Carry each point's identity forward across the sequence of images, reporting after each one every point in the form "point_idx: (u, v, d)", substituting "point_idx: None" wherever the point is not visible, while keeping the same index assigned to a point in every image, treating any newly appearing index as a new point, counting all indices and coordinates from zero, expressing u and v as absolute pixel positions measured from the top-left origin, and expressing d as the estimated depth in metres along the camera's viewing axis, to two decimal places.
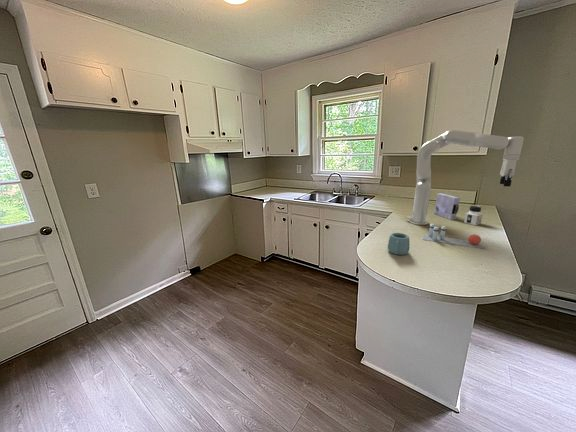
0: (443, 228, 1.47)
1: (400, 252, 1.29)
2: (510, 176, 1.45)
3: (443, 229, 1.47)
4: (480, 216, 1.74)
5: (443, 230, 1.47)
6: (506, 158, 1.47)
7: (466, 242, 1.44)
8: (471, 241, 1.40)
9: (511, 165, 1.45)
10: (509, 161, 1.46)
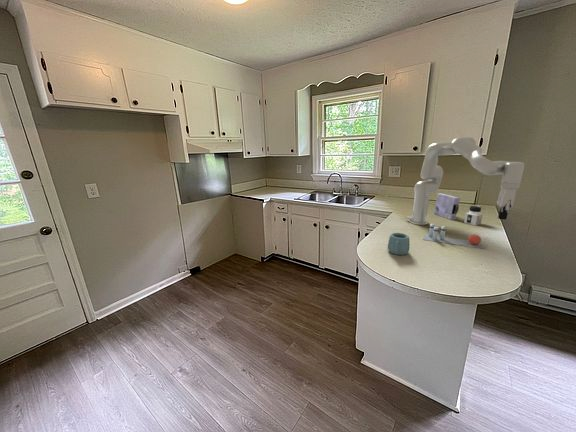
0: (443, 228, 1.47)
1: (400, 252, 1.29)
2: (505, 210, 1.28)
3: (443, 229, 1.47)
4: (480, 216, 1.74)
5: (443, 230, 1.47)
6: (504, 187, 1.27)
7: (466, 242, 1.44)
8: (471, 241, 1.40)
9: (510, 195, 1.25)
10: (507, 190, 1.25)
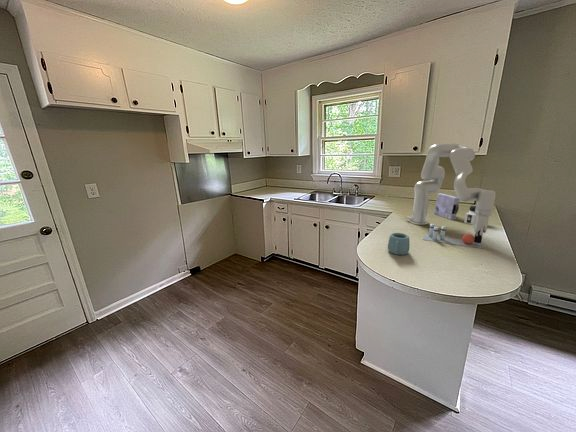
0: (443, 228, 1.47)
1: (400, 252, 1.29)
2: (480, 235, 1.36)
3: (443, 229, 1.47)
4: None
5: (443, 230, 1.47)
6: (478, 213, 1.35)
7: None
8: (467, 243, 1.42)
9: (483, 221, 1.33)
10: (480, 217, 1.33)
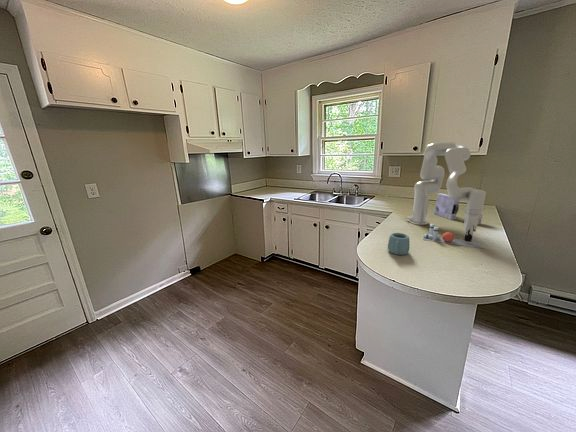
0: (425, 237, 1.52)
1: (400, 252, 1.29)
2: (470, 234, 1.39)
3: (426, 237, 1.52)
4: (480, 216, 1.74)
5: (427, 237, 1.52)
6: (468, 212, 1.37)
7: (466, 242, 1.44)
8: (449, 237, 1.43)
9: (473, 220, 1.35)
10: (470, 216, 1.36)
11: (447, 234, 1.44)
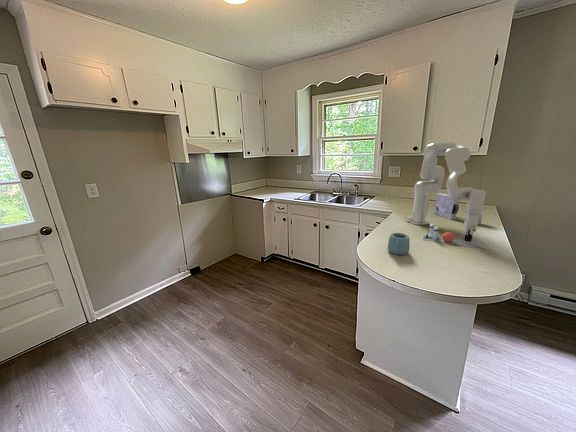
0: (425, 236, 1.53)
1: (400, 252, 1.29)
2: (470, 234, 1.39)
3: (426, 236, 1.52)
4: (480, 216, 1.74)
5: (427, 236, 1.52)
6: (468, 212, 1.37)
7: (466, 242, 1.44)
8: (449, 237, 1.43)
9: (473, 220, 1.35)
10: (470, 216, 1.36)
11: (447, 234, 1.44)
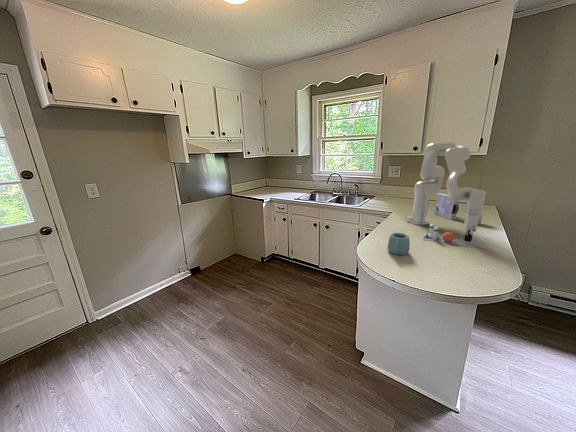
0: (425, 235, 1.53)
1: (400, 252, 1.29)
2: (470, 233, 1.39)
3: (426, 235, 1.53)
4: (480, 216, 1.74)
5: (427, 235, 1.52)
6: (468, 212, 1.37)
7: (466, 242, 1.44)
8: (449, 237, 1.43)
9: (473, 220, 1.35)
10: (470, 216, 1.36)
11: (447, 234, 1.44)
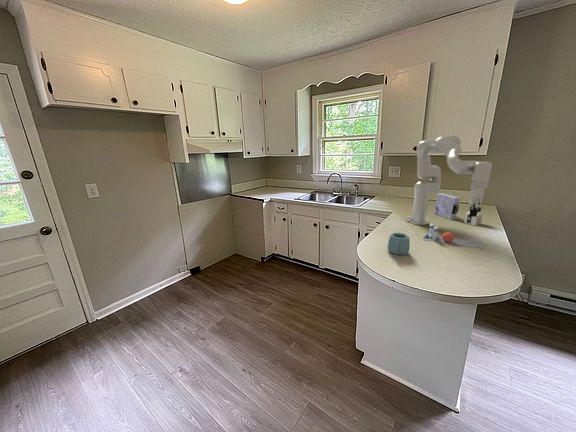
0: (425, 235, 1.53)
1: (400, 252, 1.29)
2: (475, 207, 1.34)
3: (426, 235, 1.53)
4: (480, 216, 1.74)
5: (427, 235, 1.52)
6: (473, 185, 1.33)
7: (466, 242, 1.44)
8: (449, 237, 1.43)
9: (479, 193, 1.31)
10: (476, 189, 1.31)
11: (447, 234, 1.44)
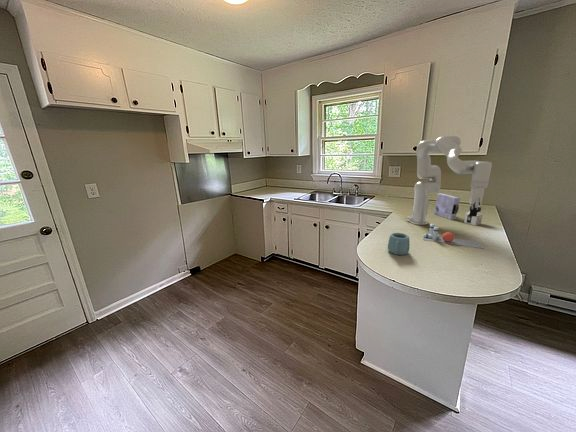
0: (425, 235, 1.53)
1: (400, 252, 1.29)
2: (475, 207, 1.34)
3: (426, 235, 1.53)
4: (480, 216, 1.74)
5: (427, 235, 1.52)
6: (473, 185, 1.33)
7: (466, 242, 1.44)
8: (449, 237, 1.43)
9: (479, 193, 1.31)
10: (476, 189, 1.31)
11: (447, 234, 1.44)
